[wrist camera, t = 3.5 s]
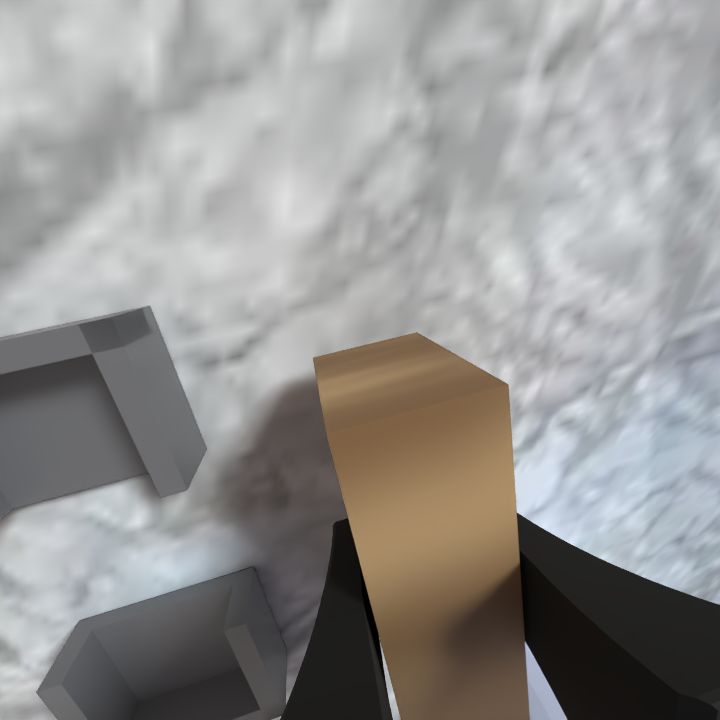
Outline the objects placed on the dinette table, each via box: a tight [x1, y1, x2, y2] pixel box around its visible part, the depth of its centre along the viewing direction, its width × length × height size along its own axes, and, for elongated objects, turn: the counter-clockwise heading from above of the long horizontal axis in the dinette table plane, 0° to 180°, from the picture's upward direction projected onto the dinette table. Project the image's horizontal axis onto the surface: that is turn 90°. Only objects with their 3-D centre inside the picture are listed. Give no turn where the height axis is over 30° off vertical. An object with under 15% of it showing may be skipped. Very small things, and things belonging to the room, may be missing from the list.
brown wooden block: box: [313, 333, 530, 720], centre depth 10 cm, size 12×4×5 cm, turn 12°
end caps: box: [0, 306, 287, 720], centre depth 12 cm, size 17×7×2 cm, turn 11°
